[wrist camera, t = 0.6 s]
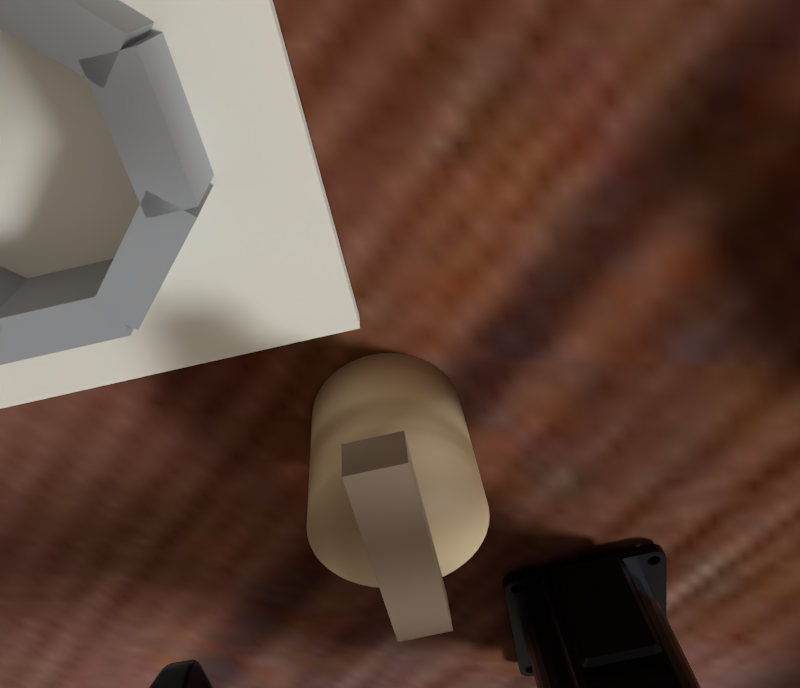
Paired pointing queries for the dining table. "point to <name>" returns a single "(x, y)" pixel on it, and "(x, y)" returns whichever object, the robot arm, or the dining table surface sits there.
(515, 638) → the robot arm
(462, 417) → the rotary grip knob
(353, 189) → the dining table surface
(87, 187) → the socket board
